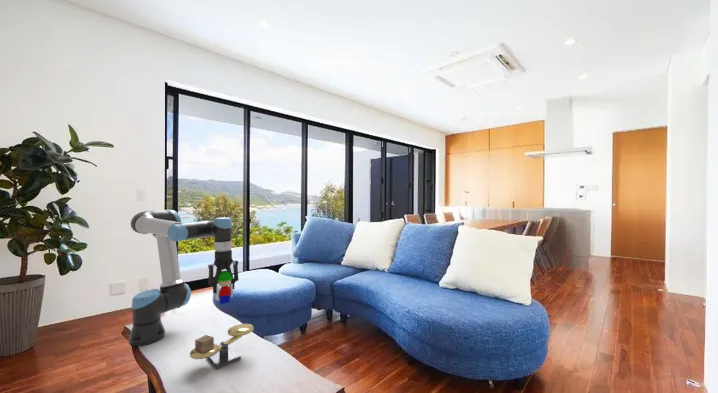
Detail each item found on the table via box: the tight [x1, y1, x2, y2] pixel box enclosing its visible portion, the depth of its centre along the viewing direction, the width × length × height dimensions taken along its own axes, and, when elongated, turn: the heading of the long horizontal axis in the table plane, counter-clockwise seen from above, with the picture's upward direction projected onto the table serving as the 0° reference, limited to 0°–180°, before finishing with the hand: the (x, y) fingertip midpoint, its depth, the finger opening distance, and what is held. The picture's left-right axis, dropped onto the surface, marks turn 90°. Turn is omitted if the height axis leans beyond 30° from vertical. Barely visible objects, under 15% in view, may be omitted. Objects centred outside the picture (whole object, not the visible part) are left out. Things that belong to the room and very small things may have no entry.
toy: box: [217, 270, 234, 305], centre depth 147 cm, size 8×8×15 cm
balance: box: [189, 323, 255, 370], centre depth 135 cm, size 12×26×11 cm, turn 133°
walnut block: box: [194, 334, 215, 354], centre depth 130 cm, size 5×5×5 cm
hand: (224, 297), depth 147 cm, fingers closed on toy, 6 cm apart
